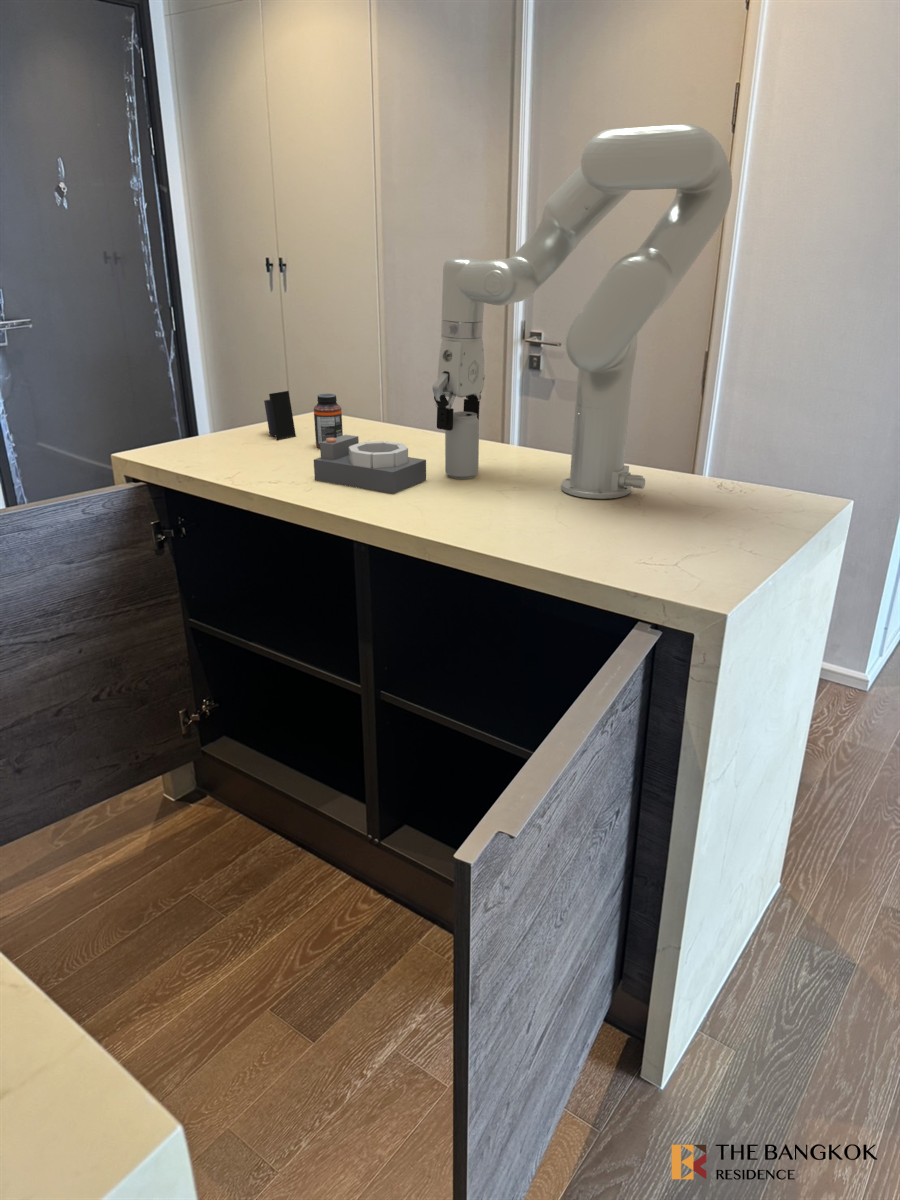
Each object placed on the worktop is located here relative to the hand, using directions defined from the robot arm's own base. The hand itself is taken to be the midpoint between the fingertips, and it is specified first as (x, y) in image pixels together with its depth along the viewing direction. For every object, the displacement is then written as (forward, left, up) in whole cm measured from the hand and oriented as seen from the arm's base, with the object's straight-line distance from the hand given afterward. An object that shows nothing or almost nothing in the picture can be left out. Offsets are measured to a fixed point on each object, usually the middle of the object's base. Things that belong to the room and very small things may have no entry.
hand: (458, 425), depth 163 cm
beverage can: (-1, 0, -10) cm, 10 cm away
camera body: (+12, +12, -10) cm, 20 cm away
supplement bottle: (+36, -6, -10) cm, 38 cm away
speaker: (+53, -9, -10) cm, 55 cm away
